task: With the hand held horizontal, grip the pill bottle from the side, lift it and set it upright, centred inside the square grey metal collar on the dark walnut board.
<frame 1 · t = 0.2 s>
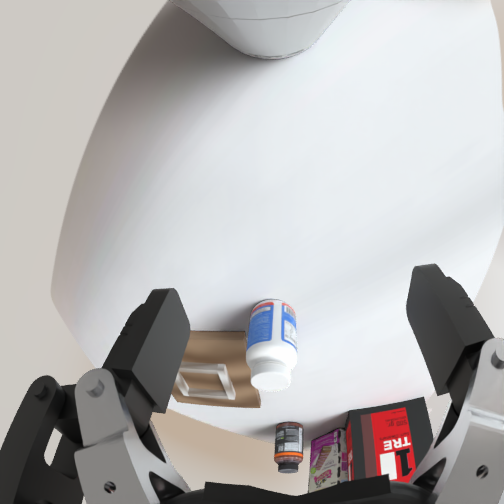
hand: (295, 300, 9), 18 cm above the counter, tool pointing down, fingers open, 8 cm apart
candy bar box: (330, 435, 56), on the counter
walnut board: (204, 371, 43), on the counter
pill bottle: (273, 313, 34), on the counter
cleaning product box: (383, 412, 49), on the counter
supplement bottle: (289, 425, 53), on the counter
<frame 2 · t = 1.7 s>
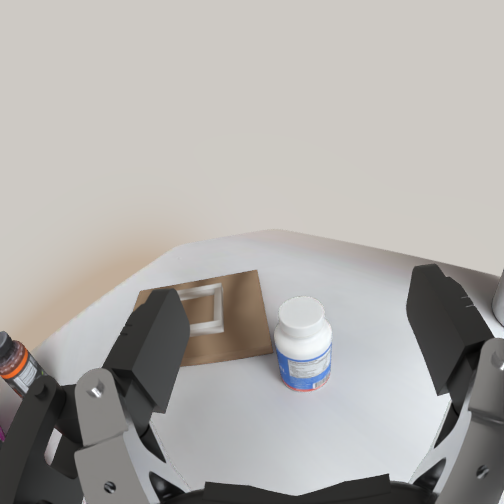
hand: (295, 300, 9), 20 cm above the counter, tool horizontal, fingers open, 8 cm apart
walnut board: (194, 321, 39), on the counter
pill bottle: (305, 375, 29), on the counter
supplement bottle: (45, 397, 28), on the counter
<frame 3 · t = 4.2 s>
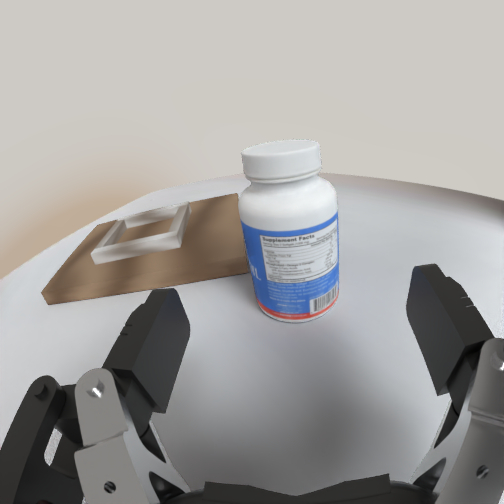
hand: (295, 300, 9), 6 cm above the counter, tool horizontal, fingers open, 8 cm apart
walnut board: (150, 247, 29), on the counter
pill bottle: (298, 299, 19), on the counter
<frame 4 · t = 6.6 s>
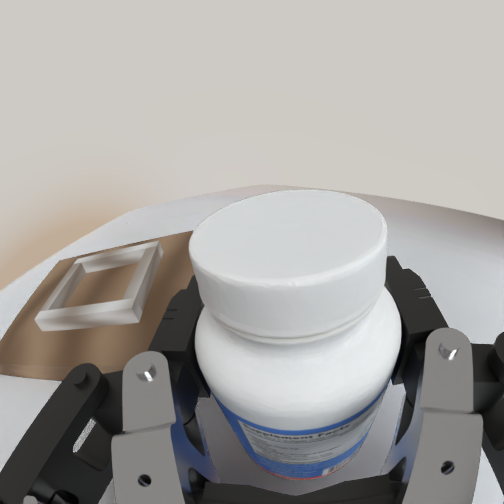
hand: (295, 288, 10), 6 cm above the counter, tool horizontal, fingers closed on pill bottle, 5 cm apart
walnut board: (110, 304, 21), on the counter
pill bottle: (304, 431, 11), on the counter, touching gripper
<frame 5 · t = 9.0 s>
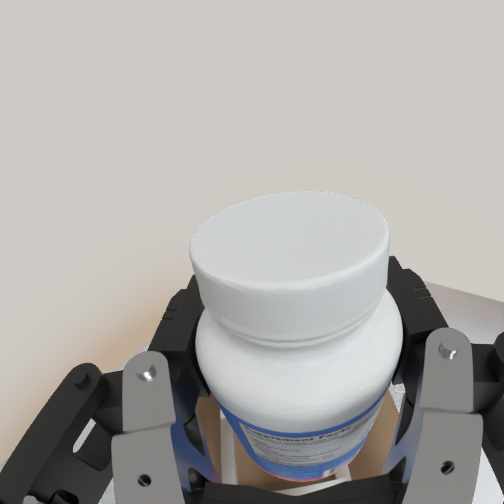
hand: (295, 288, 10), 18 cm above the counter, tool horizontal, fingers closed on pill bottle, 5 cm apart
walnut board: (283, 458, 18), on the counter
pill bottle: (304, 432, 10), point 12 cm above the counter, touching gripper
when the fingers open (9 cm above the counter, at t = 11.4 s): pill bottle drops 1 cm, resting on walnut board.
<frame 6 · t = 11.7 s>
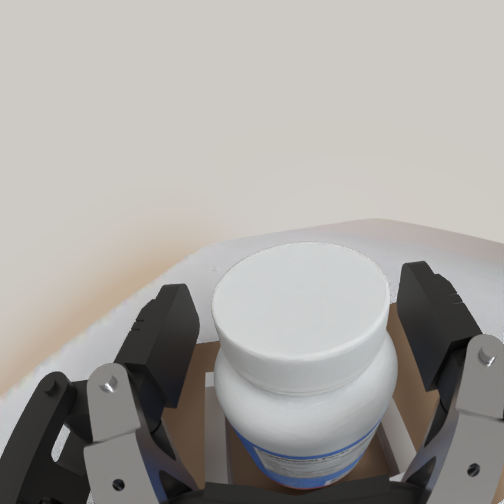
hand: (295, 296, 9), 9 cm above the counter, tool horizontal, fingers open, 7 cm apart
walnut board: (304, 450, 12), on the counter
pill bottle: (308, 444, 11), point 1 cm above the counter, touching walnut board
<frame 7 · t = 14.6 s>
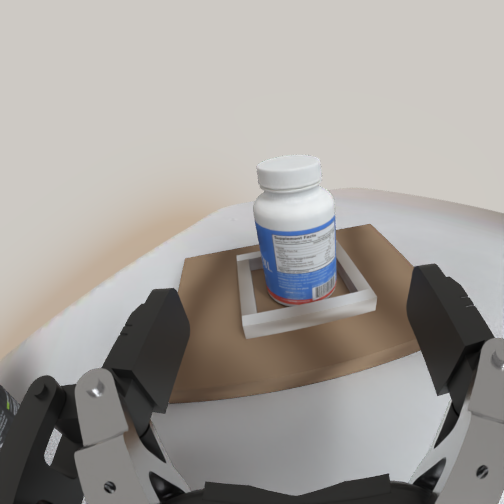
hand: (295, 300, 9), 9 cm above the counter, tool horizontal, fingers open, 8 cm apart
walnut board: (300, 301, 23), on the counter
pill bottle: (302, 289, 22), point 1 cm above the counter, touching walnut board
supplement bottle: (20, 445, 12), on the counter
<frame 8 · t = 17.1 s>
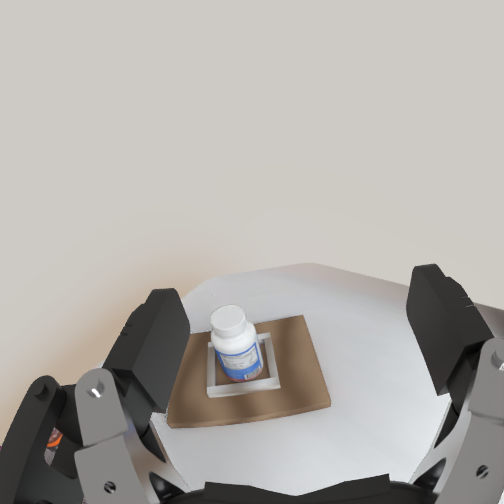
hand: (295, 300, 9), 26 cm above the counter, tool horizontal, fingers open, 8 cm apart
walnut board: (244, 373, 37), on the counter
pill bottle: (243, 368, 36), point 1 cm above the counter, touching walnut board
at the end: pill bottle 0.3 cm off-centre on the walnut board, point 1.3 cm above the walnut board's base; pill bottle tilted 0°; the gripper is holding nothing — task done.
